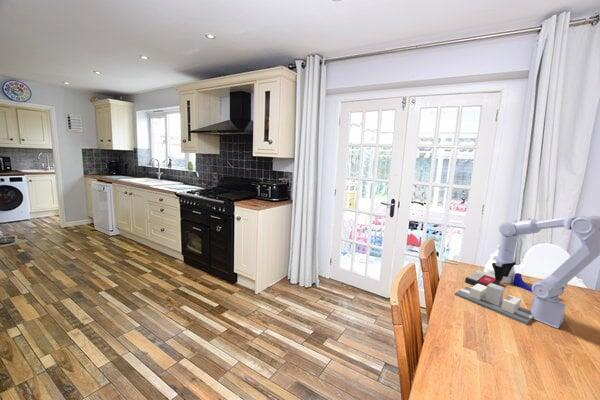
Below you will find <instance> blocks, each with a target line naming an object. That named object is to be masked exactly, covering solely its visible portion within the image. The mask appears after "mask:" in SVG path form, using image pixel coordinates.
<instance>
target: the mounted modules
mask: <svg viewBox="0 0 600 400" xmlns="http://www.w3.org/2000/svg"><path fill="white" fill-rule="evenodd" d="M486 289H487V287H486V286H484V285H481V284H476V285H472V286H471V287H470V294H469V296H470V297H472V298H475V299H477V300H480V299H482V298H483V297H485V295H486ZM521 301H522V298H519V297H517V296H514V295H511V294H509V295H507V296H506V297H505V298H503V302H502V307H501V309H502V310H505V311H507V312H510V313H512V314H514V313H515V312H516V311H517V310H518V309H519V308H520V307H521Z"/></svg>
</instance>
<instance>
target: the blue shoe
mask: <svg viewBox="0 0 600 400" xmlns="http://www.w3.org/2000/svg"><path fill="white" fill-rule="evenodd" d="M522 277H523V276H522V273H519V272H518V273H517V272H515V275H514V280H513V283H512V285H513V286H516V287H517V288H521V289H522V290H525V291H527V292H528V291H529V292H531V293H533V292H532V285H531V286H530V285H528V284H527V283H526V282H525V281H524V280H523V278H522Z"/></svg>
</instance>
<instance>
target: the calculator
mask: <svg viewBox="0 0 600 400" xmlns="http://www.w3.org/2000/svg"><path fill="white" fill-rule="evenodd" d="M464 283H466V284H469V285H471V286H474V285H476V284H481V285H484V286H486V287H487V285H489V284H490V283H493V284H496V285H499V284H501V283H500V281H498V280H495V275H493V274H490V273H487V272H484V270H479V269H476V270H474V271H473V272H471V273H470V274H469V275H467V276H466V277H465V279H464Z"/></svg>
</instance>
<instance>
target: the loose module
mask: <svg viewBox="0 0 600 400" xmlns="http://www.w3.org/2000/svg"><path fill="white" fill-rule="evenodd" d="M504 295H505V287H503V286H501V285H499V284H498V285H496V284H493V283H490V284H489V285H487V289H486V295H485V301H487V302H489V303H492V304H494V305H497V306H499V305H500V304H501V303H502V300H504Z"/></svg>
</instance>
